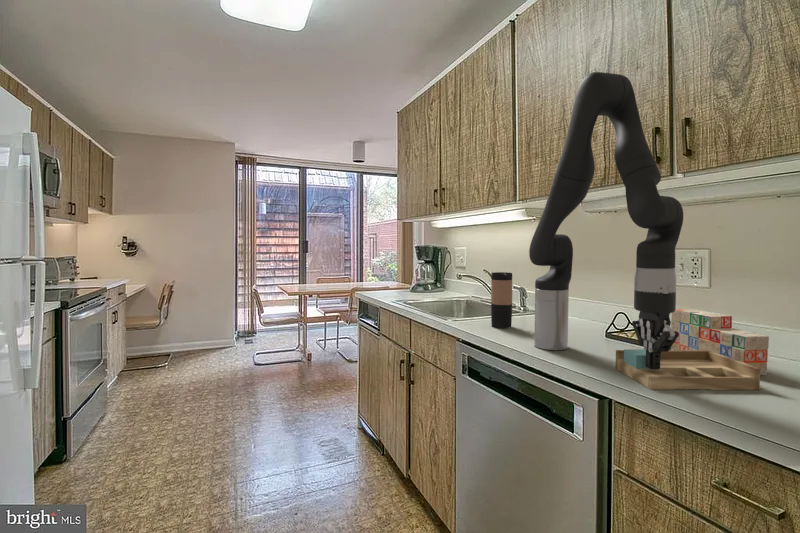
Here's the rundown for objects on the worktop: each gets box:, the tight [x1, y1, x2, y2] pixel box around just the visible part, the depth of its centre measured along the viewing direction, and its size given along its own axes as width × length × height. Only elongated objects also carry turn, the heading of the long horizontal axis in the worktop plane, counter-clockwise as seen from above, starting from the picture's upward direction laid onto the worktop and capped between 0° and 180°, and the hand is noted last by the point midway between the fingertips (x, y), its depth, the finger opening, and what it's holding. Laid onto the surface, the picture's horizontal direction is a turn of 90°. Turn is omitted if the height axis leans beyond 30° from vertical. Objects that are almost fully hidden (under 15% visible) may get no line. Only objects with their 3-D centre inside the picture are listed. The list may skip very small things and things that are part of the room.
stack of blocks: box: [670, 308, 770, 376], centre depth 99 cm, size 21×6×12 cm, turn 5°
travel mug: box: [490, 271, 513, 329], centre depth 144 cm, size 8×8×20 cm
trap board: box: [615, 349, 761, 391], centre depth 87 cm, size 14×22×4 cm, turn 88°
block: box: [623, 348, 649, 369], centre depth 89 cm, size 5×5×3 cm
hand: (652, 368), depth 85 cm, fingers closed
